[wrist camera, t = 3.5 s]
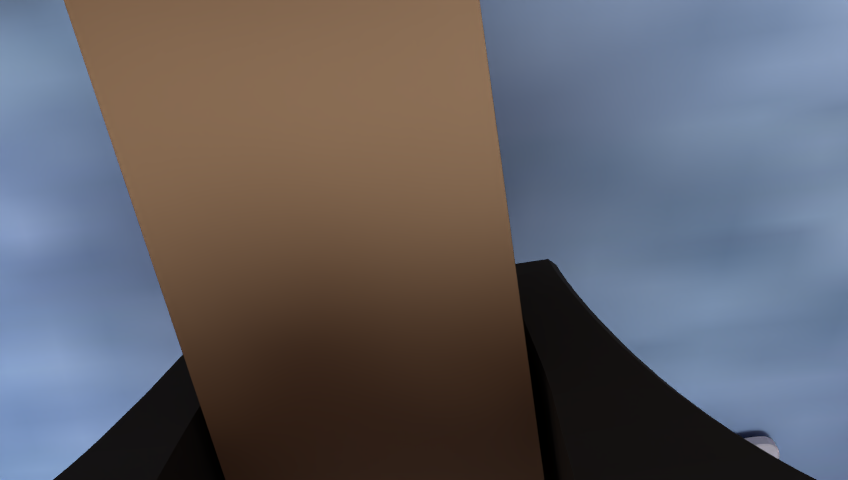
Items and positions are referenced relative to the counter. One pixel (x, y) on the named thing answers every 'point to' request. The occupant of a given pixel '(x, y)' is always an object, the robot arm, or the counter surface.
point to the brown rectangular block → (325, 229)
